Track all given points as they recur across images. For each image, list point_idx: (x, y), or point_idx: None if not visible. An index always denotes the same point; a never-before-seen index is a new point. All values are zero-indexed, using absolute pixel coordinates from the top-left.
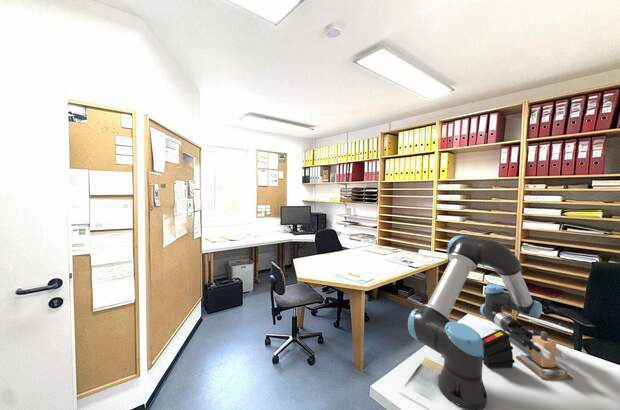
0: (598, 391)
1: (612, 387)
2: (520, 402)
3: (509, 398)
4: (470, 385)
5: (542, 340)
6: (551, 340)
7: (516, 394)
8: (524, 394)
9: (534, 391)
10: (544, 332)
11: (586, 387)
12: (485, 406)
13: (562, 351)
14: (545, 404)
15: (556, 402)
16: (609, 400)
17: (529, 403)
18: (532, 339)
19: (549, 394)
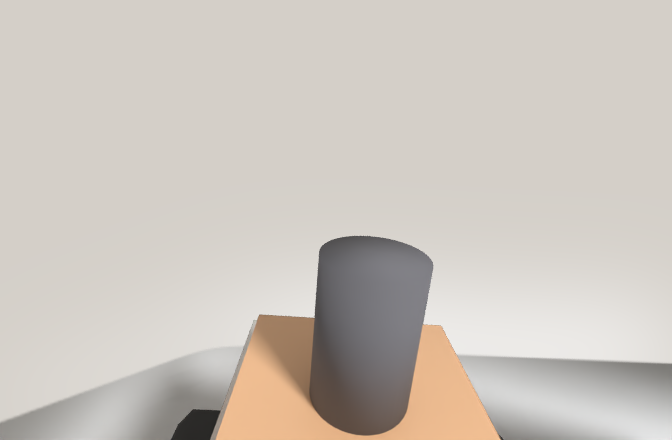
0: (168, 401)
1: (11, 424)
2: (616, 367)
3: (664, 383)
4: None
5: (415, 368)
6: (243, 364)
7: (634, 399)
8: (595, 398)
9: (540, 412)
10: (375, 256)
11: None
12: None
13: (249, 336)
14: (516, 357)
15: (464, 361)
16: (203, 359)
17: (580, 362)
18: None
19: None
